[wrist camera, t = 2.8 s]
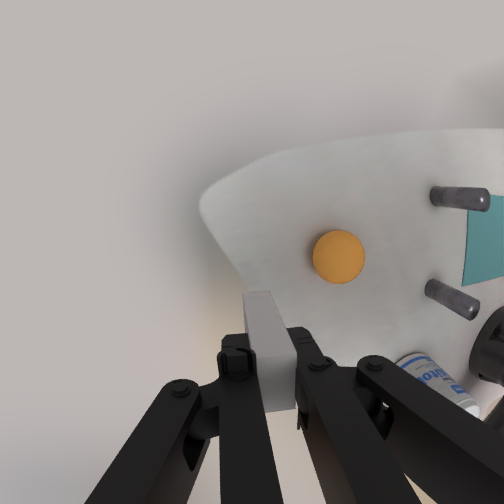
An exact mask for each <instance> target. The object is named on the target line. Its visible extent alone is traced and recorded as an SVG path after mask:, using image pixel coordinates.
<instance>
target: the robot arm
mask: <svg viewBox="0 0 504 504" xmlns="http://www.w3.org/2000/svg"><path fill="white" fill-rule="evenodd" d="M243 308H244V322H245V333H243V334H230V335H226V336H225V337H224V338H223V339H222V346H221V347H222V348H221V351H220V352H219V353H218V355H217V363H218V370H219V378H218V379H217V380H215V381H214V382H212V383H210V384H207V385H203V386H200V387H199V386H198V384H197V383H195V382H194V381H191V380H188V379H178V380H173V381H171V382H169V383H167V384H166V385H165V386H164V387H163V388H162V389H161V391H160V392H159V394H158V395H157V397H156V398H155V400H154V401H153V403H152V404H151V406H150V407H149V408H148V410H147V411H146V413H145V414H144V416H143V417H142V419H141V420H140V422H139V423H138V425H137V426H136V428H135V429H134V431H133V432H132V434H131V435H130V437H129V438H128V440H127V441H126V443H125V444H124V446H123V447H122V449H121V450H120V451H119V453H118V454H117V456H116V458H115V459H114V460H113V462H112V463H111V465H110V466H109V468H108V469H107V471H106V472H105V474H104V475H103V477H102V478H101V480H100V481H99V483H98V484H97V486H96V487H95V489H94V490H93V492H92V493H91V494H90V496H89V497H88V499H87V500H86V502H85V503H84V504H187V501H188V499H189V496H190V493H191V491H192V488H193V486H194V483H195V480H196V478H197V475H198V473H199V470H200V467H201V465H202V462H203V460H204V457H205V454H206V452H207V449H208V446H209V444H210V439H211V438H213V437H216V436H219V450H220V494H221V504H284V503H283V498H282V494H281V489H280V485H279V480H278V475H277V470H276V465H275V461H274V456H273V451H272V446H271V441H270V436H269V431H268V426H267V421H266V416H265V413H267V412H275V411H283V410H289V409H295V405H296V402H297V405H298V422H297V429H298V430H299V429H300V425H301V428H302V431H303V434H304V437H305V440H306V443H307V446H308V449H309V452H310V456H311V459H312V461H313V464H314V467H315V470H316V473H317V477H318V480H319V483H320V486H321V489H322V492H323V495H324V497H325V501H326V504H422V503H421V502H420V500H419V498H418V496H417V495H416V493H415V491H414V490H413V488H412V486H411V485H410V483H409V481H408V480H407V478H406V476H408V477H409V478H410V479H411V480H412V481H413V482H414V483H415V484H416V485H417V486H418V487H420V488H421V489H422V490H423V491H424V492H425V493H426V494H427V495H428V496H429V497H431V498H432V499H433V500H434V501H435V502H436V503H437V504H504V396H503V397H502V399H501V400H500V401H499V402H498V404H497V405H496V406H495V408H494V409H493V410H492V411H491V413H490V414H489V415H488V416H487V417H486V418H485V420H484V421H481V420H480V419H478V418H477V417H475V416H474V415H472V414H470V413H469V412H467V411H466V410H464V409H463V408H461V407H460V406H458V405H457V404H455V403H454V402H452V401H450V400H449V399H447V398H446V397H444V396H443V395H441V394H440V393H438V392H437V391H435V390H434V389H432V388H431V387H429V386H428V385H426V384H425V383H423V382H422V381H420V380H419V379H417V378H416V377H414V376H413V375H411V374H410V373H408V372H407V371H405V370H404V369H402V368H401V367H399V366H398V365H396V364H395V363H393V362H392V361H390V360H389V359H387V358H385V357H383V356H378V355H369V356H365V357H363V358H361V359H360V360H359V361H358V363H357V367H340V366H337V364H336V362H335V361H334V360H333V359H331V358H329V357H327V356H324V355H323V354H322V352H321V350H320V349H319V347H318V345H317V344H316V342H315V340H314V339H313V338H312V335H311V333H310V332H309V331H308V330H307V329H305V328H303V327H294V328H286V327H285V325H284V323H283V320H282V318H281V316H280V314H279V311H278V309H277V307H276V305H275V302H274V300H273V298H272V296H271V293H270V291H264V292H252V293H243ZM469 367H470V371H471V373H472V374H473V375H475V376H476V377H477V378H478V379H481V380H484V381H488V382H492V383H496V384H500V385H501V386H503V387H504V307H502V308H500V309H498V310H497V311H496V312H495V313H494V314H493V315H492V316H491V317H490V319H489V320H488V321H487V323H486V324H485V325H484V327H483V329H482V330H481V332H480V334H479V336H478V338H477V340H476V342H475V345H474V347H473V350H472V353H471V357H470V363H469ZM383 402H384V403H385V404H386V405H388V406H389V407H388V408H387V407H385V406H384V405H383ZM404 474H405V475H406V476H405V475H404Z"/></svg>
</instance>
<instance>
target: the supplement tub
mask: <svg viewBox="0 0 504 504" xmlns="http://www.w3.org/2000/svg"><path fill="white" fill-rule="evenodd" d="M396 365H398V366H399V367H401V368H402V369H404V370H405V371H407V372H408V373H410V374H411V375H413V376H414V377H416V378H417V379H419V380H420V381H422V382H423V383H425V384H426V385H428V386H429V387H431V388H432V389H434V390H435V391H437V392H438V393H440V394H441V395H443V396H444V397H446V398H447V399H449V400H450V401H452V402H454V403H455V404H457V405H458V406H460V407H461V408H463V409H464V410H466V411H467V412H469V413H470V414H472V415H474V416H475V417H477V418H478V416H479V413H480V408H479V406H478V405H477V404H476V403H475V401H474V400H473V398H472V397H471V396H470V395H469V394H468V393H467V392H466V391H465V390H464V389H463V388H462V387H461V386H460V385H459V384H457V383H456V382H455V381H454V380H453V379H452V378H451V377H450V376H449V375H448V374H447V373H446V372H445V371H444V370H442V369H441V368H440V367H439V366H438V365H437V364H436V363H435V362H434V361H433V360H432V359H430V358H429V357H428V356H427V355H425V354H421V353H416V354H412V355H409V356H407V357H405V358H403V359H402V360H400V361H399V362H398V363H397V364H396Z"/></svg>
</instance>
